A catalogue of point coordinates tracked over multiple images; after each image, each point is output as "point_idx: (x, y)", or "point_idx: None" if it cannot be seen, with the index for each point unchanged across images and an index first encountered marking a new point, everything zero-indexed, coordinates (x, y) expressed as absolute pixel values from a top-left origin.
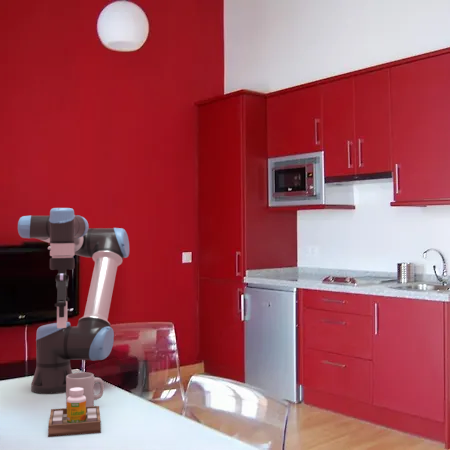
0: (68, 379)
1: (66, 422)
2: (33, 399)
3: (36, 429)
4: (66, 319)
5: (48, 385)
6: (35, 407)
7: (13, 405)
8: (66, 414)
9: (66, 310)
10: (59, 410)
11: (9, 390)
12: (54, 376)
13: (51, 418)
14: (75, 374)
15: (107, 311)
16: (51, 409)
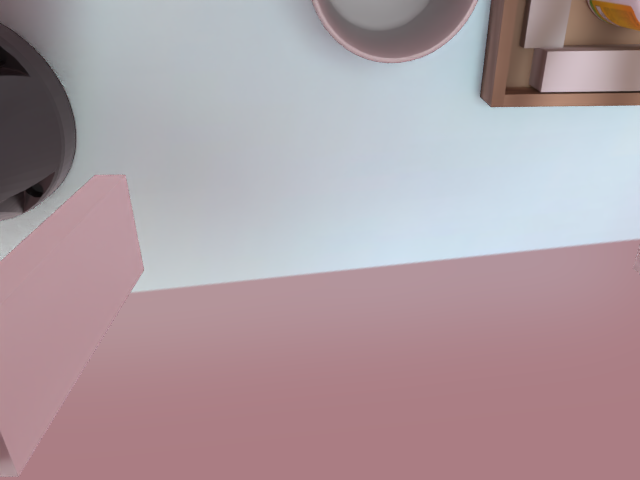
0: (441, 46)
1: (596, 27)
2: (157, 188)
3: (590, 144)
4: (118, 195)
5: (55, 145)
6: (283, 171)
7: (237, 252)
8: (533, 32)
9: (61, 255)
10: (507, 68)
11: None
12: (15, 129)
13: (637, 96)
14: (321, 4)
15: None
16: (495, 105)
